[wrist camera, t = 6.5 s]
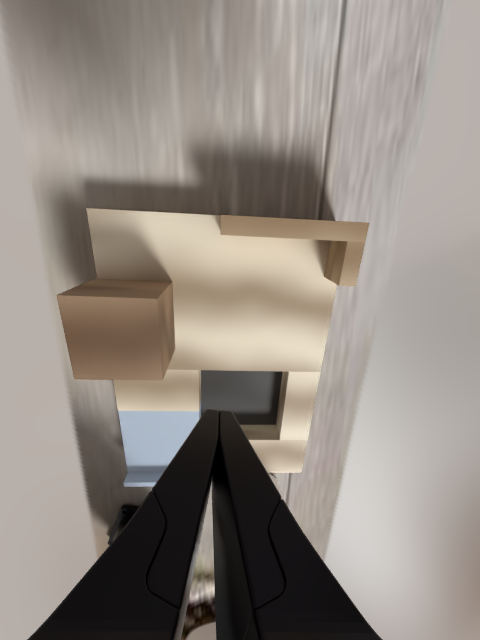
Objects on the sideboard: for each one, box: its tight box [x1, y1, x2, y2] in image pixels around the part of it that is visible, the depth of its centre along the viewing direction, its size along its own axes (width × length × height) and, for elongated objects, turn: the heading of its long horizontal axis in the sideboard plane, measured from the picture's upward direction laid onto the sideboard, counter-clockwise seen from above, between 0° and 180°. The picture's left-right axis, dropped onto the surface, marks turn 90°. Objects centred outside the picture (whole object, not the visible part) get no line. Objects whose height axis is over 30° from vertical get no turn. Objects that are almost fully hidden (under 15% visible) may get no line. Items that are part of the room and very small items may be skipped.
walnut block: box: [57, 279, 175, 381], centre depth 16 cm, size 5×5×4 cm
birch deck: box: [86, 208, 369, 473], centre depth 19 cm, size 22×16×4 cm
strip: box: [118, 402, 201, 487], centre depth 23 cm, size 8×6×3 cm
